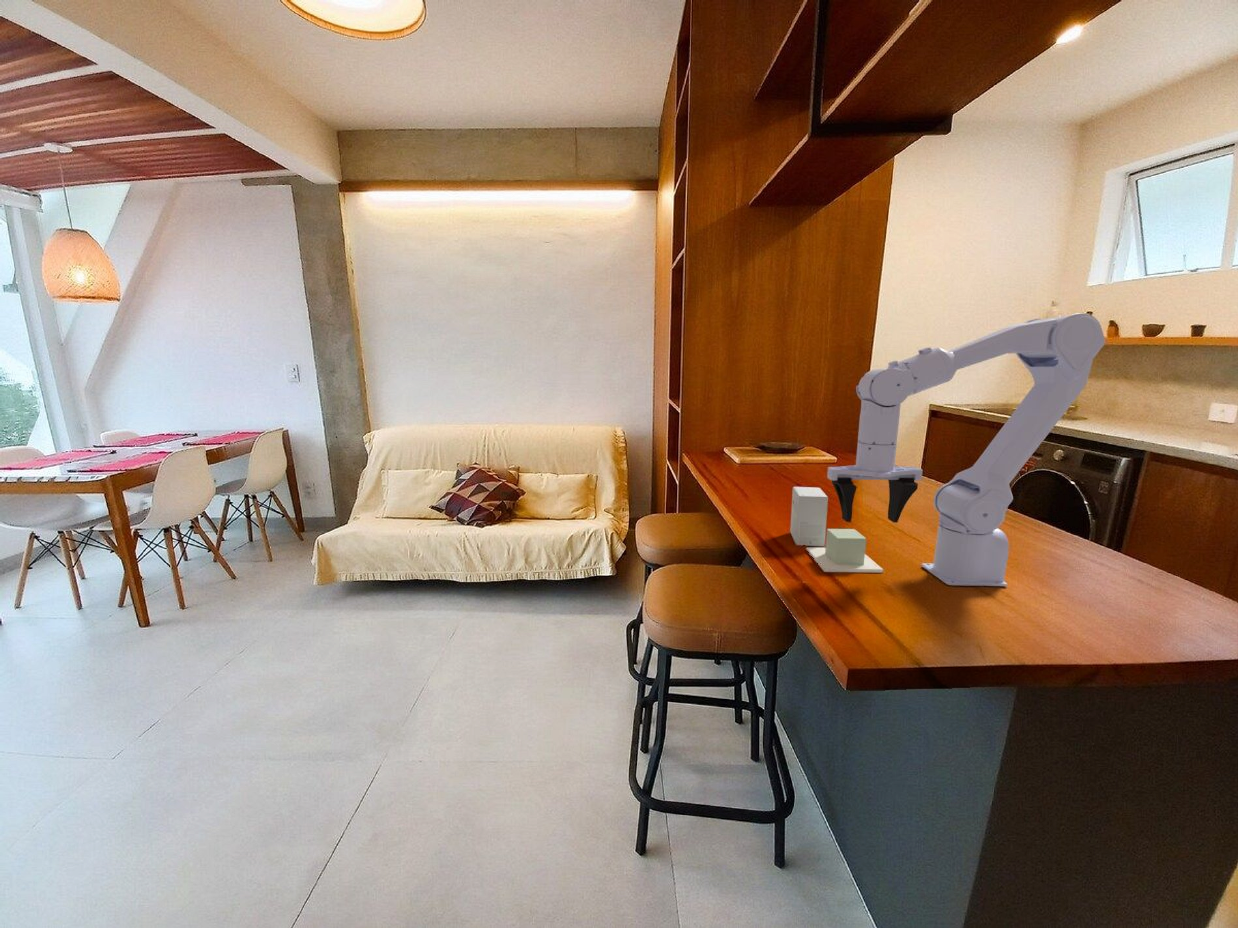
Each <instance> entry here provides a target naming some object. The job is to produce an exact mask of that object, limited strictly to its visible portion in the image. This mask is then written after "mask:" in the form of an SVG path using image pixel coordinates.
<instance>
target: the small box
mask: <svg viewBox="0 0 1238 928" xmlns="http://www.w3.org/2000/svg"><path fill="white" fill-rule="evenodd" d="M828 501H829V496H828V495H826V493H825V492H824V491H823V490H822V489H821V487H811V486H810V487H807V486H793V487H792V496H791V513H790V514H791V515H790V530H789V531H790V532H789V533H790V534H791V536H792V537H791V538H792V539H793V541H794V543H795V546H803V545H805V547H808V546H809V547H826V535H827V518H828V517H827V516H828V504H829V502H828Z"/></svg>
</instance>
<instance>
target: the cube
mask: <svg viewBox="0 0 1238 928" xmlns="http://www.w3.org/2000/svg"><path fill="white" fill-rule="evenodd" d="M866 546H867V538H866V537H865V536H864V535H862V534H861V533H860V532H859V531H858V530H856V529H855V528H826V536H825V548H826V549H825V554H826V555H827V556H828V557H829V558H830V559H831V561H832V562H833V563H834V564H838V565H864V557H865V554H866V548H867V547H866Z"/></svg>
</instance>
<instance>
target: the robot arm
mask: <svg viewBox="0 0 1238 928" xmlns="http://www.w3.org/2000/svg"><path fill="white" fill-rule="evenodd" d="M1106 342H1107V341H1106V339H1105V335H1104V332H1103V329H1102V325H1101V323H1100V321H1099V320H1098V318H1096V317H1095V316H1093V315H1091V314H1089V313H1085V312H1084V313H1083V312H1082V313H1081V312H1079V313H1073V314H1069V315H1063V316H1056V317H1049V318H1033V319H1030V320H1026V321H1024V322H1022V323H1016V324H1012V325H1011V324H1010V325H1008V326H1006V327H1004V328H1001V329H999V330H996V331H993V332H991V333H988V334H986V335H984V336H981V337H979V338H977V339H975V340H973V341H970V342H967V343H966V344H963V345H960V346H958V347H956V348H954V349H951V350H946V349H943V348H940V347H934V348H932V347H929V346H928V347H927V346H926V347H923V348H920V349H919V350H918V354H917V355H914V356H910V357H908V358H906V359H903V360H901V361H898V360H892V361H889V362H888V366H887V368H878V369H877V368H876V369H872V370H871V369H870V370H869V371H867V372H866V373H864V375H863V376H862V377H861V378H860V380H859V382H858V385H856V387H855V389H856V394H857V397H858V398H859V399H860V400H861V405H860V414H859V423H858V436H857V447H856V459H855V464H854V465H845V466H842V465H841V466H828V467H827V479H828V480H830V481H831V484H832V486H833V488H834V489H835V493H836V495H837V498H838V501H839V504H840V509H841V517H842V518H841V519H843V521H845V522H846V523H851V522H852V520H853V519H852V518H853V505H854V498H855V496H856V495H855V494H856V491H857V488H858V486H857V485H855V484H854V481H855V480H858V481H860V480H862V481H863V480H865V481H866V480H868V481H869V480H875V481H876V480H877V481H879V480H880V481H882V480H883V481H884V480H885V481H886V480H887V481H888V490H889V491H888V493H889V495H888V496H889V500H888V508H887V509H888V510H887V519H888V520H889V521H891V522H892V523H895V524H896V523H898V522H899V519H900V517H901V515H902V513H903V510H904V508H905V506H906V504H907V503H908V501H909V499H910V498H912V496H913V495H914V493H915V492H916V491H917V490H918V487H919V486H918V485H919V483H917V482H922V480H923V469H922V468H920V467H918V466H917V467H916V466H896V453H897V447H898V446H897V443H898V434H899V425H900V413H901V412H900V411H901V404H902V403H904V401H906V400H907V398H908V397H910V396H914V395H915V394H918V393H921V392H924V391H927V390H929V389H932V388H935V387H937V386H940V385H943V384H947V383H948V382H951V380H952V379H953V378H954V376H955V374H956V372H957V371H958V370H961V369H964V368H966V367H970V366H972V365H976V364H980V363H982V362H986V361H988V360H991V359H994V358H997V357H1000V356H1003V355H1006V354H1015V355H1016V357H1018V359H1019V360H1020V361H1021V363H1022V364H1023V365H1024V367H1025V368H1026V369H1027V370H1028V371H1029V373H1030V374H1031V377H1032V378H1033V382H1034V384H1033V386H1032V388H1031V389H1030V390H1029V391H1028V393H1027V394H1026V395H1025V397H1024V398H1023V399H1022V400H1021V401H1020V403H1019V405H1018V406H1017V407H1016V408H1015V410H1014V411H1013V412H1012V414H1011V416H1009V418H1008V419H1007V421H1006V422H1005V423H1004V424H1003V425H1002V427H1001V428H1000V430H999V431H998V433H996V435H995V436H994V438H993V439H992V440H991V441H990V442H989V444H988V446H987V447H986V449H985V450H984V451H983V452H982V454H981V455H980V456H979V458H978V459H977V460H976V462H975V463H974V464H973V465H972V466H971V467H969V468H967V469H963V470H962V471H960V472H957V473H956V474H955V475H954V477H953V478H952V479H951V480H950V481H949V482H947V483H944V485H941V486H940V487H939V488H938V489H937V490H936V491H935V494H934V497H933V506H934V508H935V510H936V511H937V512H938V513H939V517H938V520H939V521H938V527H937V535H936V543H935V551H934V558H933V563H929V562H927V563H924V562H923V563H921V567H922V568H924V569H925V570H927V571H928V572H929V573H930V574H932V575H933V576H935V577H936V578H938V580H941V581H942V582H943V583H944V584H946V585H948V586H969V587H970V586H971V587H972V586H973V587H974V586H975V587H984V586H985V587H1007V586H1008V583H1007V582H1006V581H1005V575H1006V570H1007V563H1008V557H1009V551H1010V544H1009V539H1008V536H1007V535H1006V533H1005V532H1004V531H1003V530H1001V529H1000V528H999V527H1000V526H1001V525H1002V524H1003V522H1004V521H1005V519H1006V513H1007V510H1008V507H1009V505H1010V504H1011V503H1012V502H1013V500H1014V496H1013V493H1012V489H1011V486H1010V484H1011V482H1012V481H1013V479H1014V478H1015V477H1016V476H1017V475H1018V473H1019V472H1020V471H1021V470H1022V468H1023V467H1024V466H1025V464H1026V463H1028V461H1029V459H1030V458H1031V457H1032V455H1033V454H1034V453H1035V452H1036V451H1037V449H1038V448H1039V446H1040V445H1041V444H1042V443H1043V442H1044V440H1045V439H1046V437H1047V436H1048V435H1049V434H1050V433H1051V431H1052V430H1053V428H1054V427H1055V426H1056V425H1057V424H1058V422H1059V421H1060V420H1061V419H1062V417H1063V416H1064V415H1065V413H1066V412H1067V411H1068V409H1070V407H1071V406H1072V404H1074V402H1075V401H1076V399H1077V398H1078V397H1079V396H1080V394H1081V393H1082V391H1084V389H1085V387H1086V385H1087V382H1088V380H1089V375H1090V374H1091V373H1090V372H1091V370H1092V369H1091V368H1092V366H1093V361H1094V358H1095V357H1096V356H1097V354H1099V352H1100V351H1101V349H1102V348H1103V347H1104V346H1105V344H1106ZM852 480H853V481H852ZM916 481H917V482H916Z"/></svg>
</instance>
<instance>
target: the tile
mask: <svg viewBox="0 0 1238 928" xmlns="http://www.w3.org/2000/svg"><path fill="white" fill-rule="evenodd" d="M805 547H806V548H805V550H807V551H808V552H809V553H808V552H807V551H806V552H807V553H808V554H809V556H810V557H811V556H812V557H813V558H814V559H813V558H812V557H811V558H812V559H813V560H814V562H815V563H816V564H817V563H818V564H817V565H818V566H819V567H820V568H821V570H822V571H823V572H824V573H879V574H881V573H884V569H883V568H882V567H881V566H880V565H878V564H877V563H876V562H875V561H874V560H873V559H872V558H871V557H870V556H868V555H867V554H866V553H865V557H864V565H838V564H834V563H833V562H832V561H831V559H830V558H829V557H828V556H827V555H826V554H825V549H826V547H816V546H809V547H808V546H805Z"/></svg>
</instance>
